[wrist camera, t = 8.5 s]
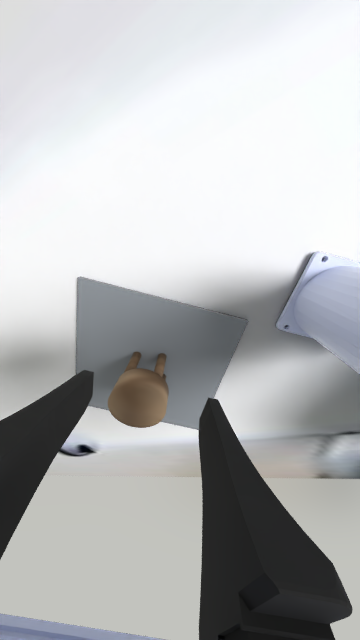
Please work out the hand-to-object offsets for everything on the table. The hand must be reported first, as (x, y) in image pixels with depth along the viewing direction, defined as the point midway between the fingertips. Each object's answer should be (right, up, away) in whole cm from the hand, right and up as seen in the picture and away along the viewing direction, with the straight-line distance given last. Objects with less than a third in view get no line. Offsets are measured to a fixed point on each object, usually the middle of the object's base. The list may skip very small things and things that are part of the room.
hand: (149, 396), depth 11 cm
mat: (-2, -1, +11) cm, 11 cm away
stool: (-2, -1, +11) cm, 11 cm away
